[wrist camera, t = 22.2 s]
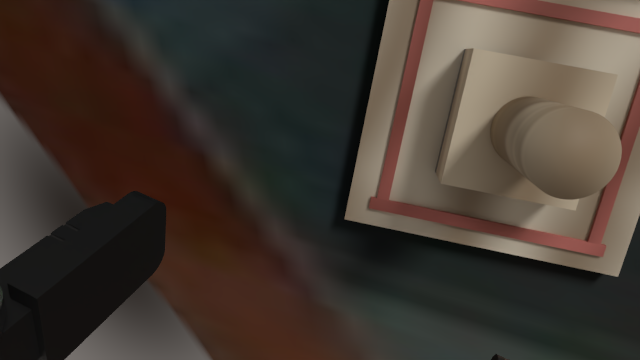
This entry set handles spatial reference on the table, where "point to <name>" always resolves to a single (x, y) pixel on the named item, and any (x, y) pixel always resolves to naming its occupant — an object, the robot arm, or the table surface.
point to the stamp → (529, 130)
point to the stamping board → (432, 113)
